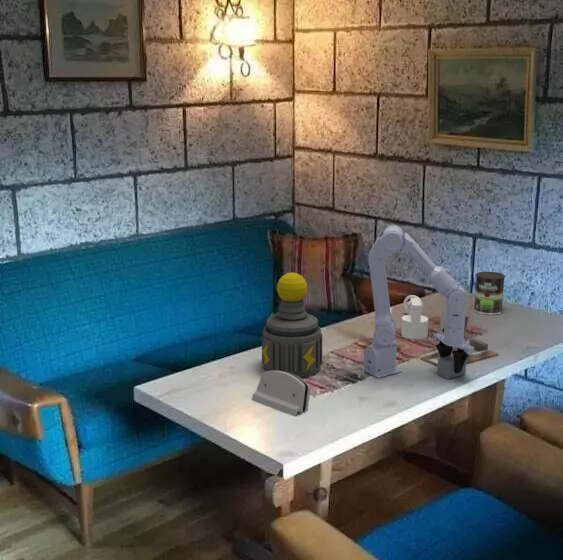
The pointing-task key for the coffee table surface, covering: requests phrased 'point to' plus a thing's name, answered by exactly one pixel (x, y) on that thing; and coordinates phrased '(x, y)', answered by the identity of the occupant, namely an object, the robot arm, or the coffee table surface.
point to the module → (449, 367)
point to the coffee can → (489, 293)
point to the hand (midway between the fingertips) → (451, 369)
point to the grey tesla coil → (292, 332)
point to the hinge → (283, 392)
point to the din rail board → (479, 354)
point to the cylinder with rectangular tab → (414, 322)
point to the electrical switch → (442, 323)
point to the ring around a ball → (409, 303)
